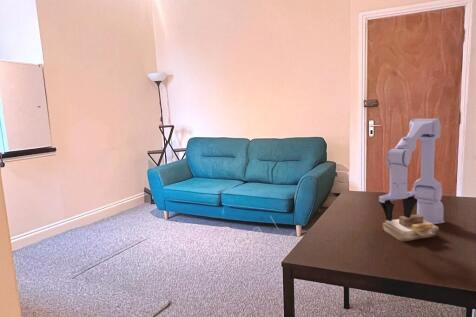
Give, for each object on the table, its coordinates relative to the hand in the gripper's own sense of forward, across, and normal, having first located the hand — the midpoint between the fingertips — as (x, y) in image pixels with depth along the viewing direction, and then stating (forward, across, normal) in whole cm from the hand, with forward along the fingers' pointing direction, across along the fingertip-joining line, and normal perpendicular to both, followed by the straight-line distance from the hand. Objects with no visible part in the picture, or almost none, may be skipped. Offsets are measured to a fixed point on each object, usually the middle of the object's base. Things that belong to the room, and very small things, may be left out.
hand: (398, 218), depth 123 cm
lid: (+7, -10, -4) cm, 13 cm away
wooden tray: (+9, -10, -6) cm, 15 cm away
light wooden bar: (+5, -9, +1) cm, 11 cm away
